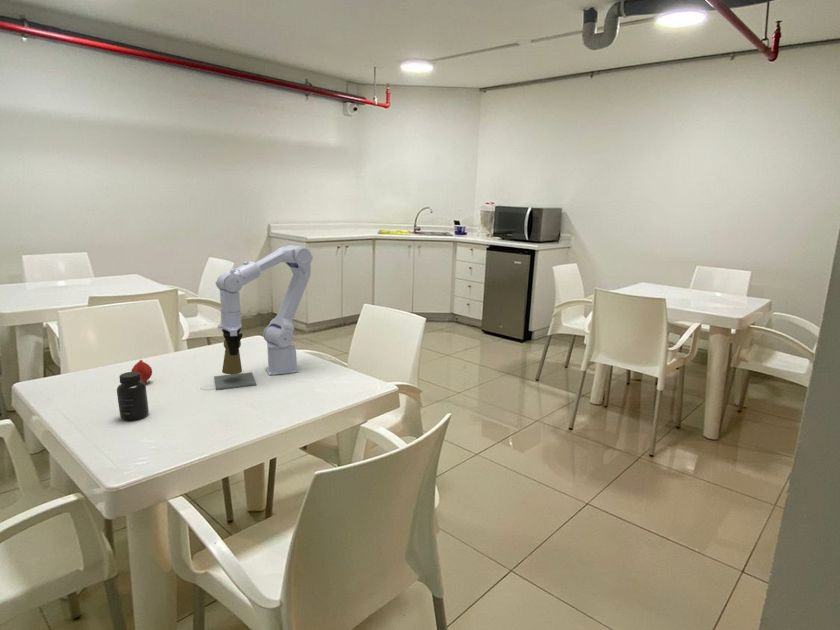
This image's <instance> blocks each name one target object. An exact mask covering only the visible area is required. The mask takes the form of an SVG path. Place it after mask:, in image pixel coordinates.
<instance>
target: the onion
mask: <svg viewBox="0 0 840 630" xmlns="http://www.w3.org/2000/svg"><path fill="white" fill-rule="evenodd" d="M130 372H139V373H140V377H141V380H140V381H142V382H143V383H145V384H146V382H147V381H149V379H150V378H151V377H152V375H153V369H152V367H151V366H150V364H148V363H146V362H144V361H143V359H140V360H139V361H138V362H136V363H135V365H133V366H132V369H131V371H130Z"/></svg>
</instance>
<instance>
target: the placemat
mask: <svg viewBox="0 0 840 630" xmlns="http://www.w3.org/2000/svg"><path fill="white" fill-rule="evenodd" d="M213 378H214V386H215V391H220V390H221V391H222V390H231V389H239V388H245V387H246V388H247V387H254V386H255V387H256V386H257V382H256V379H255V376H254V374H253V372H252V371H251V372H241V373H238V374H224V375H223V374H221V375H214V376H213Z"/></svg>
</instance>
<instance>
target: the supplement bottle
mask: <svg viewBox="0 0 840 630" xmlns="http://www.w3.org/2000/svg"><path fill="white" fill-rule="evenodd" d="M140 380H141V377H140V373H139V372H131V371H128V372H124V373H121V374H119V383H120V384H119V385H118V386H117V388H116V397H117V404H118V411H119V418H120V419H121V420H122V421H124V422H134V421H135V422H136V421H140V420H142V419H145V418H146V417H147V416H148V415H149V414H150V413H149V412H150V411H149V402H148V393H147V386H146V382H145V383H143V382H142V381H140Z"/></svg>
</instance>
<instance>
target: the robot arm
mask: <svg viewBox="0 0 840 630" xmlns="http://www.w3.org/2000/svg"><path fill="white" fill-rule="evenodd" d="M312 261H313V255H312V252H311V250H310V248H308V247H307V246H303V245H293V244H285V245H284V246H281V247H279V248H278V249H276V250H275V251H273V252H272V253H269V254H268V255H265V256H264V257H262V258H261V259H259V260H257V261H256V262H254V261H247V260H246V261H244V262H242V265H240V266H238V267H236V268H231V269H229V272H223V273H220V274H219V276H217V278H216V279H217V280H216V281H215V285H216V288H217V289H219V298H220V301H219V302H220V312H221V313H220V315H221V324H218V325H217V327H218V329H221V332H223V333H222V335H223V336H222V337H223V338H224V340H226V342H227V344H228V348H229V352H230V355H231V356H232V355H237V354H238V349H239V350H240V348H239V343H240V341H241V339H242V338H243V333H240V332H241V328H242V327H243V324H242V316H241V315H242V314H241V298H240V297H241V296H240V291H241V290H242V288H243V287H244V286H245V285H247V284H249V283H250V282H252V281H254V280H257V279H259V278H260V276H261V274H262V272H264V271H266V270H268V269H271V268H273V267H275V266H277V265H278V264H280V263H285V264H286V265H287V266H288V267H289V269H290V270H291V273H292V276H291V279H290V282H289V285H288V286H287V290H286V292H285V294H284V296H283V299H282V302H281V305H280V307H279V309H278V312H277V315H276V316H275V317H274V318H272V319H271V320H270V322H269V324H268V325H267V326H266V327H265V328H264V329H263V332H262V334H263V335H262V337H263V339H264V341H265V342H266V344H267V366H266V367H265V369H266V372H267V373H268V375H269V376H273V375H275V376H276V375H285V374H293V373H294V374H295V373H297V372H298V361H297V348H296V345H295V344H292V342H293V339H294V331H295V326H294V324H293V320H294V318H295V315H296V313H297V310H298V308H299V305H300V302H301V300H302V297H303V295H304V292H305V289H306V287H307V285H308V282H309V280H310V278H311V272H312V270H311V264H312Z"/></svg>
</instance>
